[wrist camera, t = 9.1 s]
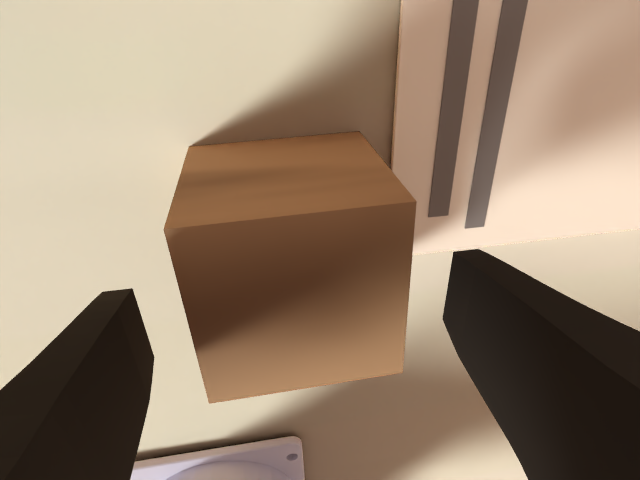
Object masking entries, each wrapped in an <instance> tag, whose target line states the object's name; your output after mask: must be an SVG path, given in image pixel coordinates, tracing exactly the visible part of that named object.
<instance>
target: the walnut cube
mask: <svg viewBox="0 0 640 480" xmlns="http://www.w3.org/2000/svg"><path fill="white" fill-rule="evenodd" d="M416 204H417V201H416V200H415V199H414V197H413V196H412V195H411V194H410V193H409V191H408V190H407V189H406V188H405V186H404V185H403V184H402V183H401V182H400V180H399V179H398V178H397V177H396V175H395V174H394V173H393V172H392V171H391V169H390V168H389V167H388V166H387V165H386V163H385V162H384V161H383V160H382V158H381V157H380V156H379V155H378V154H377V152H376V151H375V150H374V149H373V147H372V146H371V145H370V144H369V143H368V141H367V140H366V139H365V138H364V136H363V135H362V134H361V133H360V132H359V131H357V132H346V133H334V134H323V135H312V136H301V137H290V138H279V139H268V140H257V141H246V142H235V143H223V144H212V145H201V146H190V147H189V148H188V151H187V155H186V158H185V161H184V164H183V168H182V171H181V174H180V177H179V181H178V184H177V187H176V191H175V194H174V197H173V200H172V204H171V207H170V210H169V214H168V217H167V220H166V223H165V227H164V233H165V236H166V240H167V244H168V248H169V252H170V256H171V259H172V263H173V267H174V271H175V275H176V278H177V282H178V286H179V290H180V294H181V298H182V301H183V305H184V309H185V313H186V317H187V321H188V324H189V328H190V332H191V336H192V340H193V344H194V347H195V351H196V355H197V359H198V363H199V367H200V370H201V374H202V378H203V382H204V386H205V389H206V393H207V397H208V401H209V404H210V403H216V402H222V401H229V400H235V399H241V398H248V397H254V396H260V395H266V394H273V393H279V392H285V391H292V390H298V389H304V388H311V387H317V386H323V385H329V384H336V383H342V382H348V381H355V380H361V379H367V378H374V377H380V376H386V375H392V374H399V373H402V372H403V360H404V348H405V336H406V324H407V312H408V300H409V288H410V276H411V264H412V252H413V240H414V228H415V216H416Z"/></svg>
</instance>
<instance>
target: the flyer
mask: <svg viewBox="0 0 640 480" xmlns="http://www.w3.org/2000/svg"><path fill="white" fill-rule="evenodd" d="M391 171H392V172H393V173H394V174H395V175H396V177H397V178H398V179H399V180H400V182H401V183H402V184H403V185H404V186H405V188H406V189H407V190H408V191H409V193H410V194H411V195H412V196H413V197H414V199H415V200H416V201H417V204H416V216H415V228H414V240H413V252H412V255H419V254H427V253H436V252H445V251H453V250H462V249H471V248H480V247H488V246H497V245H506V244H515V243H523V242H532V241H541V240H549V239H558V238H567V237H576V236H584V235H593V234H602V233H611V232H619V231H628V230H637V229H640V0H401V8H400V25H399V41H398V57H397V73H396V89H395V106H394V122H393V138H392V154H391Z"/></svg>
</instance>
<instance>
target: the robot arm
mask: <svg viewBox="0 0 640 480" xmlns="http://www.w3.org/2000/svg"><path fill="white" fill-rule="evenodd" d="M443 321H444V323H445V326H446V328H447V331H448V333H449V336H450V338H451V340H452V343H453V345H454V347H455V350H456V352H457V354H458V356H459V358H460V360H461V362H462V363H463V365H464V367H465V368H466V370H467V372H468V374H469V375H470V377H471V379H472V380H473V382H474V384H475V386H476V387H477V389H478V391H479V392H480V394H481V396H482V397H483V399H484V401H485V402H486V404H487V406H488V407H489V409H490V411H491V412H492V414H493V416H494V417H495V419H496V421H497V422H498V424H499V426H500V427H501V429H502V431H503V432H504V434H505V436H506V438H507V439H508V441H509V443H510V445H511V446H512V448H513V450H514V452H515V454H516V456H517V457H518V459H519V461H520V463H521V465H522V467H523V469H524V472H525V474H526V476H527V478H528V480H640V331H638V330H635V329H633V328H631V327H629V326H626V325H624V324H622V323H620V322H618V321H616V320H614V319H612V318H610V317H607V316H605V315H603V314H601V313H599V312H597V311H595V310H593V309H591V308H589V307H587V306H585V305H583V304H581V303H579V302H577V301H575V300H573V299H571V298H569V297H568V296H566V295H564V294H562V293H560V292H558V291H556V290H554V289H553V288H551V287H549V286H547V285H545V284H543V283H541V282H540V281H538V280H536V279H534V278H532V277H531V276H529V275H527V274H525V273H523V272H522V271H520V270H518V269H516V268H514V267H512V266H511V265H509V264H507V263H505V262H503V261H501V260H500V259H498V258H496V257H494V256H492V255H490V254H488V253H486V252H484V251H481V250H479V249H474V250H466V251H457V252H453V258H452V264H451V270H450V276H449V283H448V289H447V295H446V301H445V307H444V314H443ZM153 365H154V355H153V352H152V349H151V346H150V342H149V339H148V336H147V333H146V330H145V327H144V323H143V320H142V317H141V314H140V311H139V308H138V304H137V301H136V298H135V295H134V292H133V289H123V290H115V291H106V292H102V293H101V294H100V295H99V296H98V297H96V298H95V299H94V300H93V301H92V302H91V303H90V304H89V305H88V306H87V307H86V308H85V309H84V310H83V311H82V312H81V313H80V314H79V315H78V316H77V317H76V318H75V319H74V320H73V321H72V322H71V323H70V324H69V325H68V326H67V327H66V328H65V329H64V330H63V331H62V332H61V333H60V334H59V335H58V336H57V337H56V338H55V339H54V340H53V341H52V342H51V343H50V344H49V345H48V346H47V347H46V348H45V349H44V350H43V351H42V352H41V353H40V354H39V355H38V356H37V357H36V358H35V359H34V360H33V361H32V362H31V363H30V364H28V365H27V366H26V367H25V368H24V369H23V370H22V371H21V372H20V373H19V374H17V375H16V376H15V377H14V378H13V379H12V380H11V381H10V382H9V383H8V384H6V385H5V386H4V387H3V388H2V389H1V390H0V480H305V474H304V462H303V449H302V441H301V439H300V438H298V437H295V436H289V437H283V438H276V439H270V440H264V441H258V442H252V443H246V444H240V445H233V446H227V447H221V448H215V449H209V450H203V451H197V452H191V453H184V454H178V455H172V456H166V457H160V458H154V459H148V460H142V461H135V458H136V454H137V450H138V446H139V442H140V438H141V434H142V430H143V426H144V422H145V418H146V413H147V409H148V405H149V400H150V392H151V384H152V375H153Z"/></svg>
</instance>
